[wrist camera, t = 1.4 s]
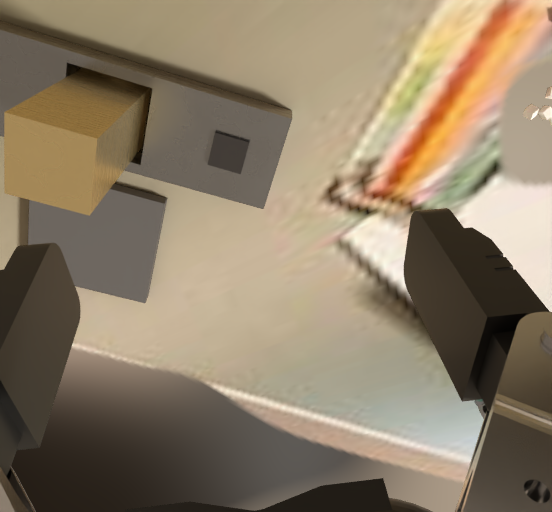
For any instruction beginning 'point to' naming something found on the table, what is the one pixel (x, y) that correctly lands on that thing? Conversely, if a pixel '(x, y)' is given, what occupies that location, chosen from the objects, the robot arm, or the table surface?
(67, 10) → the table surface
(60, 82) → the brass block
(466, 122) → the table surface
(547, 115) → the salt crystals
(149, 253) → the mat
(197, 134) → the rail
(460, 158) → the table surface
